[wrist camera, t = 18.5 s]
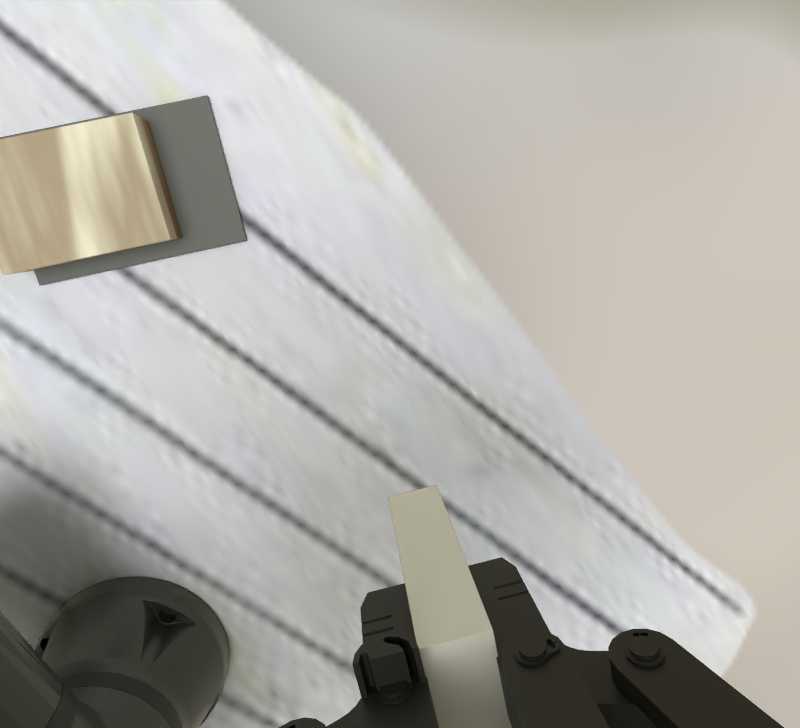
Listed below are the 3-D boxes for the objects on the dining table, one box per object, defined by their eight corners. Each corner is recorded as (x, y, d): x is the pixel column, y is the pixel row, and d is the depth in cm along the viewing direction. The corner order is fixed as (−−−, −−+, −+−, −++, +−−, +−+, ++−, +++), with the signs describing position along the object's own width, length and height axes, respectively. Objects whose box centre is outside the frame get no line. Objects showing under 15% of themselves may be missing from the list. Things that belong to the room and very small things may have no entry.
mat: (42, 284, 43) (39, 285, 42) (-10, 141, 40) (-14, 140, 40) (247, 240, 44) (246, 240, 43) (208, 96, 41) (207, 95, 41)
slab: (183, 237, 43) (29, 271, 42) (148, 121, 41) (-13, 154, 40) (170, 239, 39) (3, 275, 39) (132, 112, 37) (-45, 148, 37)
